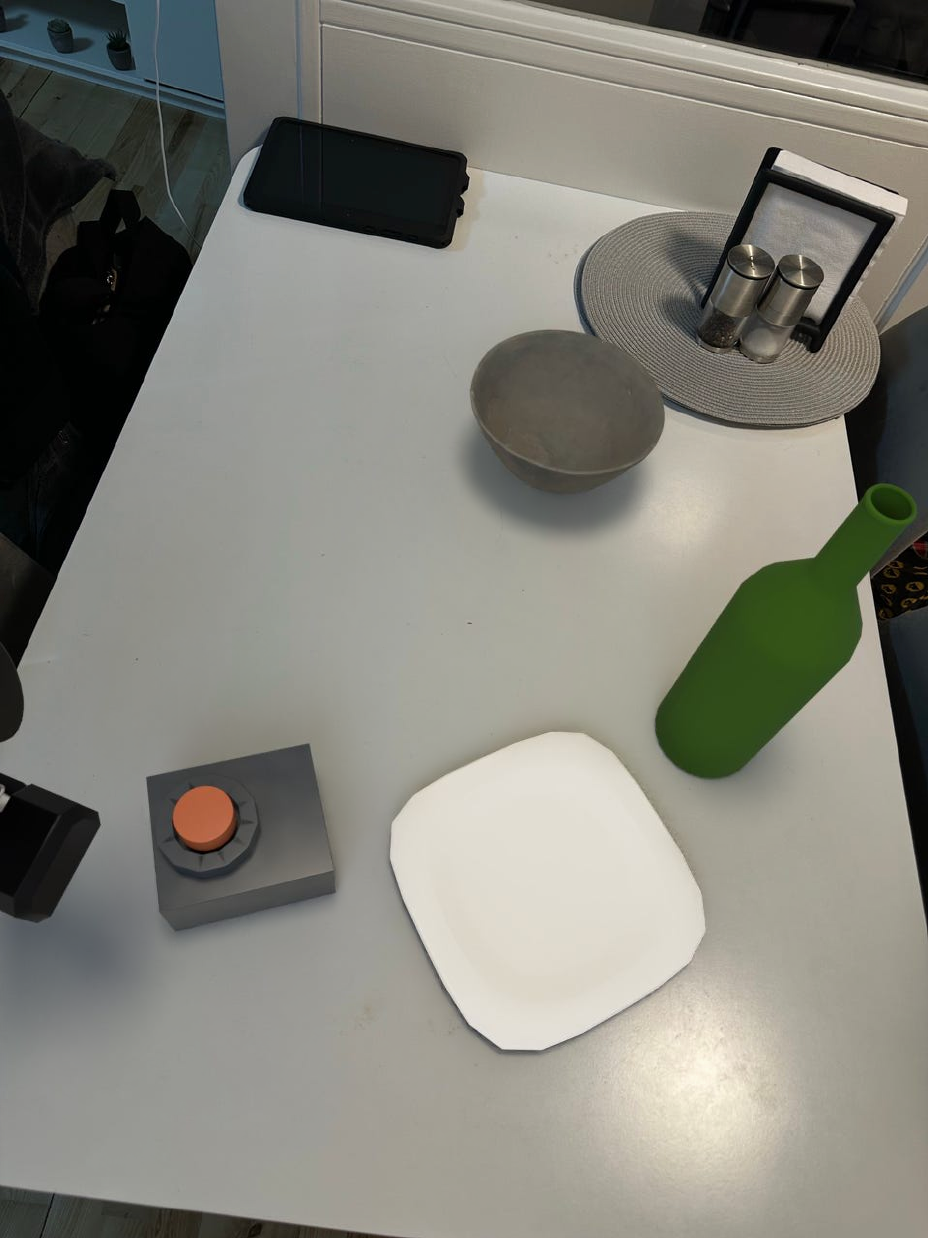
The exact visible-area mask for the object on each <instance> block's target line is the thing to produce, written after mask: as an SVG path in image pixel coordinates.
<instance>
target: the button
mask: <svg viewBox="0 0 928 1238" xmlns="http://www.w3.org/2000/svg"><path fill="white" fill-rule="evenodd" d="M236 822H237V819H236V813H235V810H234V807H233V805H232V802H231V800H230V798H229V796H228V795H227V794H226V793H225V792H224V791H222V790H220V789H219V788H216V787H212V786H201V787H197V788H194V789H192V790H190V791H188V792H187V793H185V794H184V795H183V796H182V797H181V798H180V799H179V801H178V802H177V804H176V806H175V809H174V812H173V823H174V826H175V829H176V831H177V832H178V834H179V836H180V838H181V839H182V841H183V842H184V843H185V844H186V845H187V846H188V847H190V848H192V849H194V850H198V851H210V850H214V849H217V848H219V847H221V846H222V845H224V844H225V843H226V842H227V841H228V840H229V839H230V838H231V836H232V835H233V833H234V831H235V828H236Z"/></svg>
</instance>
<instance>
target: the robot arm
mask: <svg viewBox="0 0 928 1238" xmlns="http://www.w3.org/2000/svg"><path fill="white" fill-rule="evenodd" d="M23 690H24V689H23V685H22V682H21V679H20V675H19V672H18V670H17V667H16V665H15V663H14V661H13V659H12V657H11V655H10V654H9V651H7V649H6V648H5V646H4V645H3V643H1V642H0V744H1V743H4V742H6V741H8V740H10V739H12V738H13V737H15V735H16V734H17V733H18V731H19V730H20V727H21V725H22V723H23V720H24V719H23V718H24V713H25V697H24V691H23ZM101 826H102V824H101V818H100V815H99V811H97V810H95V809H93V808H90V807H88V806H86V805H83V804H82V803H79V802H77V801H74V800H72V799H70V798H68V797H65V796H62V795H60V794H58V793H55V792H53V791H50V790H48V789H46V788H43V787H41V786H39V785H36V784H34V783H30V784H27V783H25V782H23V781H21V780H19V779H17V778H14V777H11V776H9V775H7V774H5V773H2V772H0V912H2V913H3V914H6V915H8V916H9V917H12V918H14V919H17V920H20V921H21V920H22V921H27V922H31V923H36V924H38V923H41V922H43V921H45V920H47V919H49V918H51V917H52V916H53V914H54V912H55V910H56V909H57V907H58V906H59V903H60V901H61V899H62V898H63V896H64V894H65V892H66V890H67V888H68V887H69V884H70V883H71V881H72V879H73V877H74V875H75V874H76V872H77V870H78V869H79V866H80V865H81V862H82V860H83V859H84V857H85V856H86V854H87V851H88V850H89V848H90V846H91V845H92V842H93V841H94V839H95V837H96V835H97V833H98V832H99V829H100V827H101Z"/></svg>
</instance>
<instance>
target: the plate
mask: <svg viewBox="0 0 928 1238" xmlns="http://www.w3.org/2000/svg"><path fill="white" fill-rule="evenodd" d="M389 847H390V849H389V860H390V861H389V862H390V864H391V868H392V871H393V873H394V876H395V880H396V883H397V885H398V889H399V892H400V894H401V898H402V901H403V903H404V905H405V907H406V909H407V911H408V913H409V916H410V918H411V920H412V922H413V925H414V926H415V929H416V931H417V933H418V935H419V937H420V940H421V942H422V944H423V946H424V948H425V950H426V952H427V954H428V956H429V958H430V960H431V962H432V964H433V966H434V969H435V971H436V973H437V975H438V977H439V979H440V980H441V983H442V984H443V986H444V988H445V989H446V991H447V993H448V994H449V996H450V998H451V999H452V1001H453V1002H454V1004H455V1005H456V1007H457V1009H458V1010H459V1012H460V1013H461V1015H462V1016H463V1018H464V1020H465V1021H466V1022H467V1024H468V1026H470V1027H471V1028H473V1029H474V1030H475V1031H477V1032H478V1033H479V1034H481V1035H482V1036H483V1037H484V1038H486V1039H488V1040H489V1041H490V1042H491V1043H492V1044H494V1045H495V1046H496V1047H498V1048H499V1049H500V1050H509V1051H510V1050H513V1051H517V1050H518V1051H519V1050H520V1051H544V1050H546V1049H548V1048H551V1047H553V1046H555V1045H558V1044H561V1043H562V1042H564V1041H568V1040H570V1039H572V1038H575V1037H577V1036H580V1035H582V1034H584V1033H586V1032H587V1031H589V1030H591V1029H593V1028H594V1027H596V1026H598V1025H599V1024H601V1023H603V1022H605V1021H606V1020H608V1019H609V1018H611V1017H613V1016H615V1015H618V1013H620V1012H622V1011H624V1010H625V1009H627V1008H629V1007H630V1006H632V1005H633V1004H635V1003H636V1002H638V1001H640V1000H641V999H643V998H644V997H646V996H648V995H649V994H652V993H653V992H654V991H656V990H657V989H659V988H660V987H662V985H664V984H665V983H666V982H668V981H669V980H670V979H672V977H674V976H675V975H676V974H678V972H680V971H681V970H683V968H684V967H686V966H687V965H688V964H689V963H691V961H692V959H693V957H694V955H695V953H696V952H697V949H698V947H699V945H700V943H701V941H702V939H703V937H704V935H705V933H706V931H707V928H706V926H707V925H706V920H705V911H704V903H703V895H702V891H701V889H700V887H699V885H698V883H697V881H696V879H695V877H694V875H693V873H692V871H691V869H690V867H689V865H688V863H687V861H686V858H685V856H684V855H683V853H682V851H681V850H680V847H679V846H678V845H677V843H676V841H675V840H674V838H673V836H672V835H671V833H670V832H669V829H668V828H667V827H666V825H665V823H664V822H663V820H662V819H661V817H660V815H659V814H658V812H657V811H656V809H655V808H654V806H653V805H652V803H651V802H650V799H649V798H648V797H647V796H646V794H645V793H644V791H643V789H642V788H641V786H640V785H639V783H638V782H637V780H636V779H635V778H634V777H633V776H632V774H631V773H630V771H629V770H628V769H627V768H626V767H625V766H624V764H623V763H622V762H621V760H620V759H619V758H618V757H617V755H615V753H614V752H613V751H612V750H611V749H609V748H607V746H604V745H603V744H601V743H600V742H598V741H596V740H595V739H593V738H592V737H590V736H589V735H587V734H586V733H584V732H568V731H548V732H544V733H542V734H538V735H535V736H532V737H529V738H526V739H522V740H519V741H516V742H514V743H512V744H509V745H507V746H504V747H503V748H501V749H498V750H496V751H494V752H491V753H489V754H487V755H484V756H482V757H479V758H478V759H476V760H473V761H472V762H469V763H467V764H465V765H463V766H461V767H459V768H456V769H455V770H453V771H450V772H448V773H447V774H445V775H443V776H442V777H439V778H438V779H436V780H435V781H433V782H431V783H429V784H428V785H427V786H426V787H424V788H422V789H421V790H419V791H418V792H416V793H414V794H413V795H411V797H410V798H409V799H408V801H407V802H406V803H405V805H404V806H403V808H402V809H401V810H400V811H399V813H398V814H397V815H396V817H395V818H394V820H393V821H392V822H391V830H390V846H389Z"/></svg>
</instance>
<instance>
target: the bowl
mask: <svg viewBox="0 0 928 1238" xmlns="http://www.w3.org/2000/svg"><path fill="white" fill-rule="evenodd" d="M657 384H658V383H657V382H656V381H655V379H654V377H653V376H652V375H651V373H650V372H649V371H648V370H647V369H646V367H645V366H644V365H643V364H642V363H641V362H640V361H639V360H638V359H637V358H635V357H634V356H633V355H631V354H630V353H628V352H627V351H626V350H624V349H622V348H621V347H619V346H618V345H616V344H614V343H611V342H609V341H607V340H605V339H603V338H601V337H598V336H596V335H591V334H588V333H584V332H579V331H573V330H567V329H537V330H531V331H525V332H522V333H518V334H516V335H512V336H510V337H508V338H505V339H504V340H502V341H500V342H498V343H497V344H495V345H494V346H493V347H492V348H490V349H489V350H488V351H487V352H486V353H485V354H484V356H483V357H482V358H481V359H480V361H479V362H478V364H477V365H476V368H475V370H474V373H473V375H472V378H471V382H470V388H469V399H470V407H471V411H472V413H473V415H474V418H475V420H476V422H477V424H478V426H479V428H480V430H481V431H482V433H483V435H484V437H485V439H486V441H487V443H488V445H489V447H490V448H491V451H493V453H494V455H495V456H496V457H497V458H498V460H500V462H501V463H502V464H503V465H504V466H505V467H506V469H508V470H509V471H510V472H511V473H512V474H513V475H514V476H515V477H517V478H518V479H519V480H521V481H522V482H523V483H524V484H526V485H528V486H530V487H531V488H534V489H536V490H540V491H543V492H547V493H553V494H559V495H571V494H578V493H583V492H587V491H590V490H593V489H595V488H599V487H600V486H603V485H605V484H606V483H609V482H611V481H612V480H614V479H616V478H618V477H620V476H621V475H623V474H624V473H626V472H627V471H629V470H630V469H632V468H633V467H636V466H637V465H639V464H640V463H641V462H643V461H644V460H645V459H646V458H647V457H648V456H649V455H650V454H651V452H652V451H653V450H654V449H655V447H656V446H657V444H658V443H659V441H660V439H661V436H662V434H663V431H664V429H665V428H664V427H665V423H666V411H665V406H664V400H663V397H662V394H661V391H660V389H659V386H658V385H657Z"/></svg>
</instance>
